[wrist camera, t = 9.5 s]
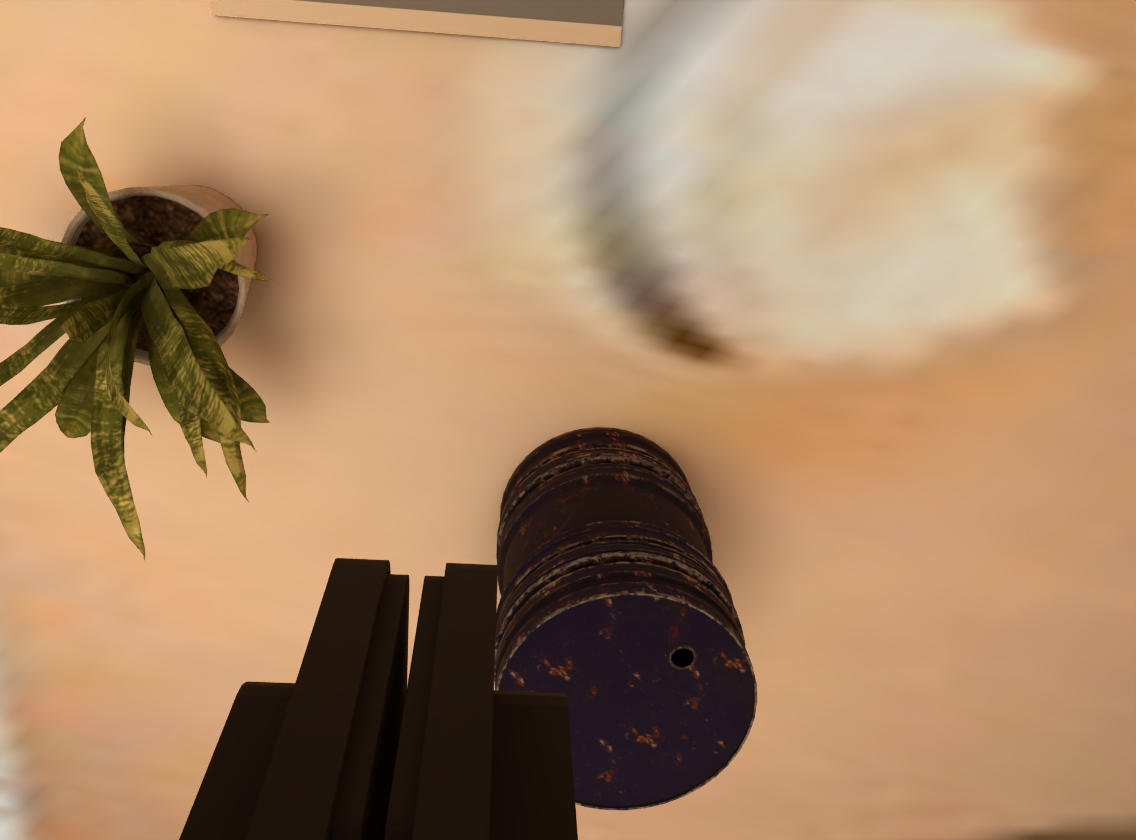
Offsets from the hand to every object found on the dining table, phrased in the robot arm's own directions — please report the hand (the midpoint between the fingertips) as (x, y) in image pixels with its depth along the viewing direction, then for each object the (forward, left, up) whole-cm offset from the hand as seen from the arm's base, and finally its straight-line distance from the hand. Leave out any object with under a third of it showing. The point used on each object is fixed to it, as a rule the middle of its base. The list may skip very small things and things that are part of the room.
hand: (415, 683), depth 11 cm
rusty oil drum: (-6, +17, -37) cm, 41 cm away
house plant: (+14, +5, -37) cm, 40 cm away
